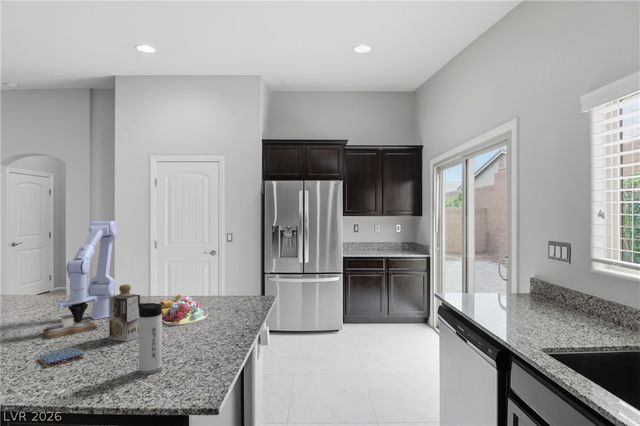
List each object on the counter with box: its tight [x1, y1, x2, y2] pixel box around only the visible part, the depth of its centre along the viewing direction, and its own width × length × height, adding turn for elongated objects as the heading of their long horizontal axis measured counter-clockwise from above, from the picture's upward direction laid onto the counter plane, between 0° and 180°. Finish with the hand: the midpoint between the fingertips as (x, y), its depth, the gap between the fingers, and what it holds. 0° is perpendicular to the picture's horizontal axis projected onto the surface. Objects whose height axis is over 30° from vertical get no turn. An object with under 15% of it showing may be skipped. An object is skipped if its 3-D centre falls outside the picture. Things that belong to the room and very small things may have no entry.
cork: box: [118, 284, 132, 294], centre depth 182 cm, size 6×6×11 cm
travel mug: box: [138, 302, 163, 375], centre depth 107 cm, size 6×7×20 cm
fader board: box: [42, 318, 98, 340], centre depth 143 cm, size 16×10×2 cm, turn 137°
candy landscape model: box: [158, 294, 208, 327], centre depth 163 cm, size 25×24×9 cm
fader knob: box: [61, 314, 74, 328], centre depth 142 cm, size 3×4×4 cm
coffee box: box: [108, 293, 141, 342], centre depth 135 cm, size 9×6×16 cm
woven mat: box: [38, 347, 85, 368], centre depth 115 cm, size 10×11×2 cm
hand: (78, 322), depth 145 cm, fingers closed
